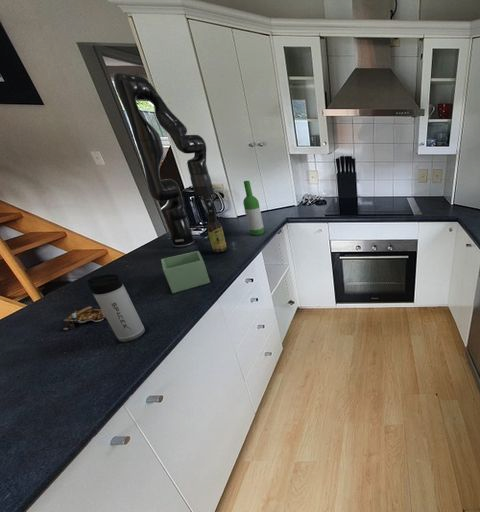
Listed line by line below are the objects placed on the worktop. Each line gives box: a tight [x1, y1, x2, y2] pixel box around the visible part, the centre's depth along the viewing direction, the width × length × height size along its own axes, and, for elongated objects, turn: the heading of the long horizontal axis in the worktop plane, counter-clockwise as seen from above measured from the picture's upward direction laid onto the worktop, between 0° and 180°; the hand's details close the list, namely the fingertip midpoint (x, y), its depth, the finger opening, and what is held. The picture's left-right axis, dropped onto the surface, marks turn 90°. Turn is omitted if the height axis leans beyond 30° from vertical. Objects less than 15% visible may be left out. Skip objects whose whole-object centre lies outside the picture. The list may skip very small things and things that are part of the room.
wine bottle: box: [242, 180, 265, 236], centre depth 151 cm, size 8×8×30 cm
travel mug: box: [86, 273, 146, 343], centre depth 78 cm, size 6×7×20 cm
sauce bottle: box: [205, 209, 228, 253], centre depth 130 cm, size 6×6×20 cm
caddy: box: [160, 250, 211, 294], centre depth 108 cm, size 12×13×10 cm
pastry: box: [63, 306, 106, 331], centre depth 88 cm, size 7×12×4 cm, turn 125°
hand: (212, 220), depth 128 cm, fingers closed on sauce bottle, 4 cm apart
